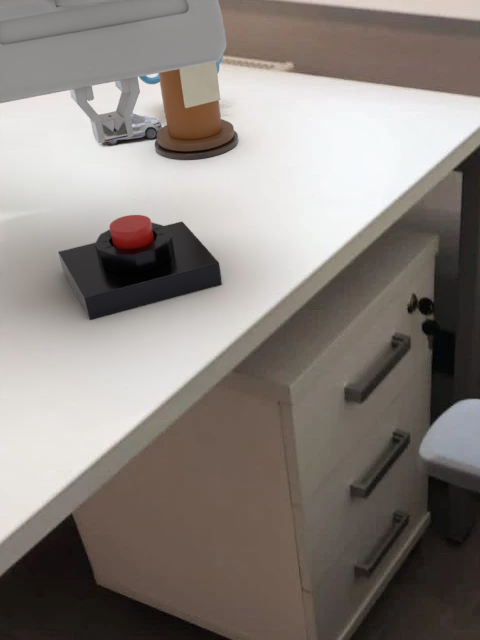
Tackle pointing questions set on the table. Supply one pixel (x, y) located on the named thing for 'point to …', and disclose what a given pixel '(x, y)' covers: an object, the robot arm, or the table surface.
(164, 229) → the button block
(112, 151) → the table surface
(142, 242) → the button
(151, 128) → the toy car
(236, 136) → the turntable base
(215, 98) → the labeled post on disc
